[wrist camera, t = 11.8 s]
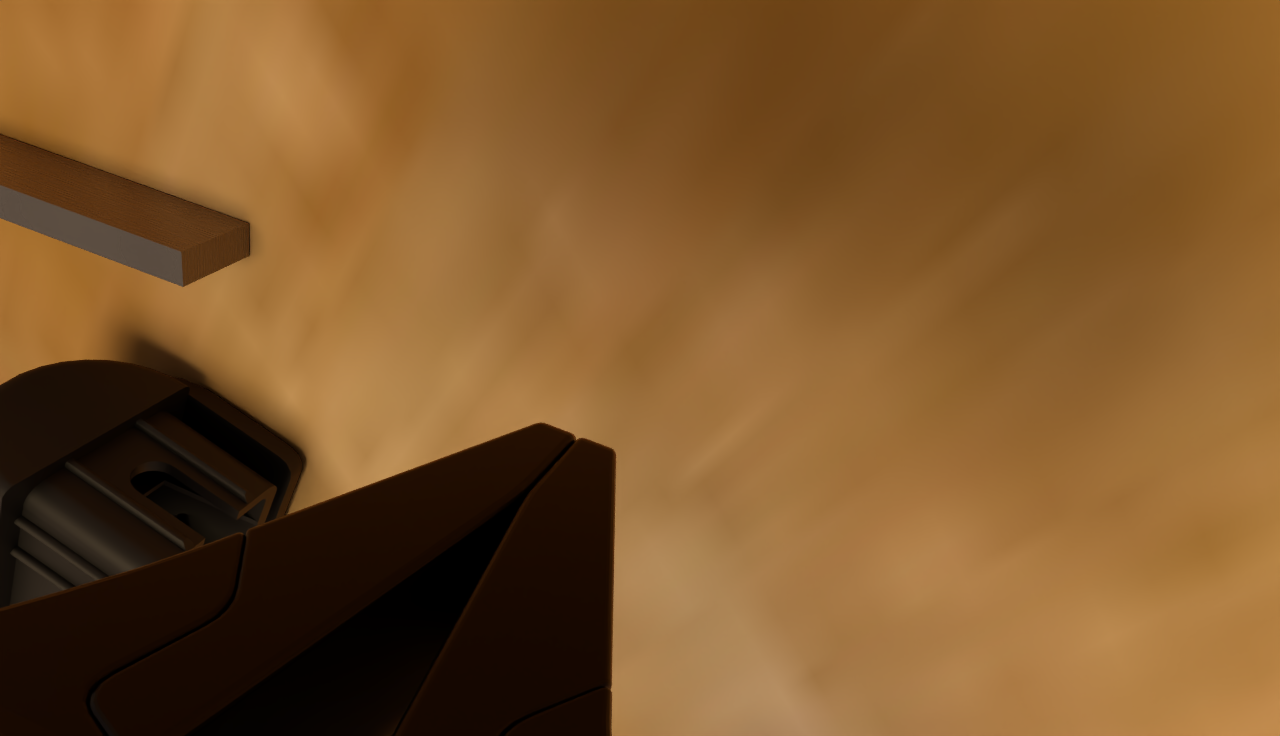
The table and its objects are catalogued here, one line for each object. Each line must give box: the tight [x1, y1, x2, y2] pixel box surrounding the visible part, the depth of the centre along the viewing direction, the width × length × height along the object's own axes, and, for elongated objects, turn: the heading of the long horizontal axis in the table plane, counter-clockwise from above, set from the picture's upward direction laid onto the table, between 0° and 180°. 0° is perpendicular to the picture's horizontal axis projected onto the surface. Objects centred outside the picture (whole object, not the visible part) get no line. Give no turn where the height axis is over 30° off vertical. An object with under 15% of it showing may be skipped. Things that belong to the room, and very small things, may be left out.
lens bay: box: [0, 135, 249, 287], centre depth 28 cm, size 17×14×3 cm
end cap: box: [0, 360, 302, 608], centre depth 27 cm, size 10×7×7 cm
